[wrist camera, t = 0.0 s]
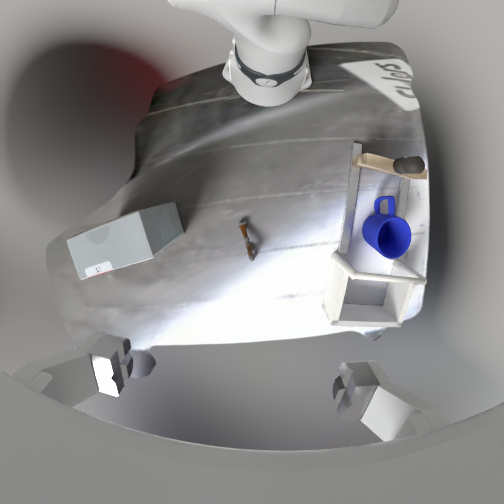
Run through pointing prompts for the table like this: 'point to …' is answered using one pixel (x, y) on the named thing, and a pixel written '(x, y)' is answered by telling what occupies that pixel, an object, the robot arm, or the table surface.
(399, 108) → the table surface
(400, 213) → the rails
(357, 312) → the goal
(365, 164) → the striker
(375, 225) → the mug
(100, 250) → the hard drive box
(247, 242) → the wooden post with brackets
